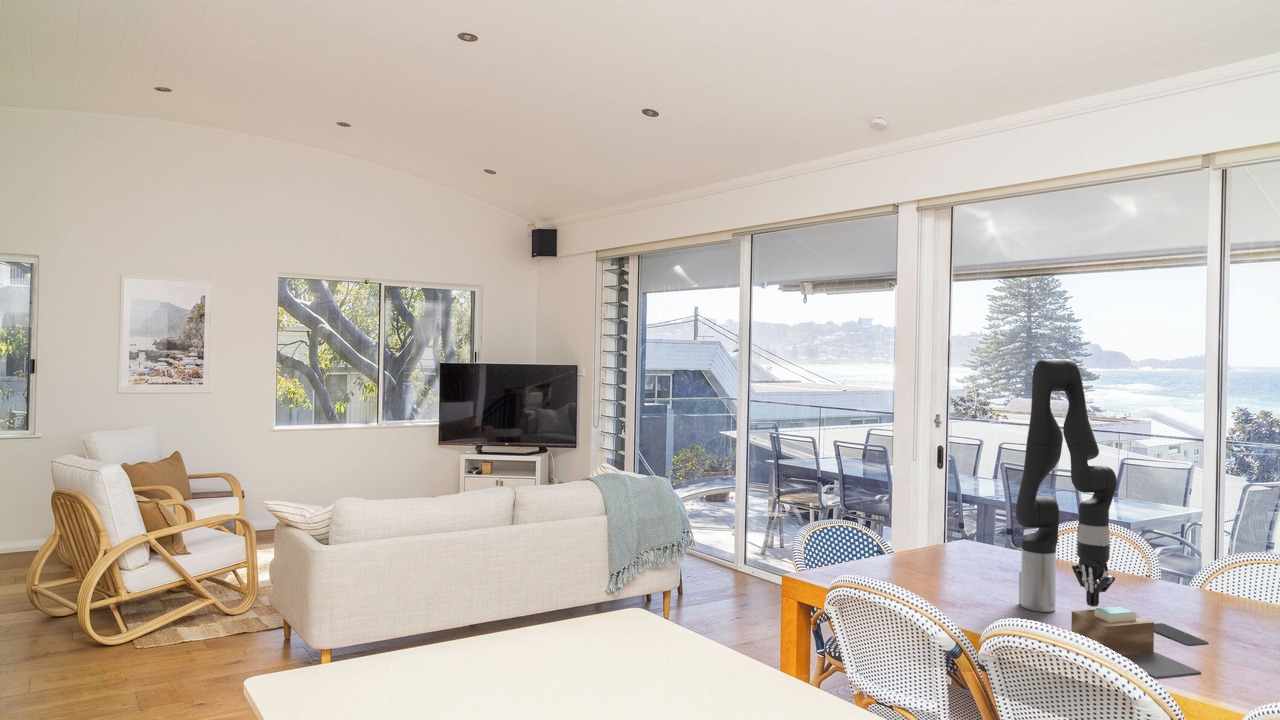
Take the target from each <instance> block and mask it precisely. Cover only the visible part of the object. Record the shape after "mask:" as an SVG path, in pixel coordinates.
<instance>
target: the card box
mask: <svg viewBox="0 0 1280 720" xmlns="http://www.w3.org/2000/svg"><path fill="white" fill-rule="evenodd" d="M1094 609H1095V613H1094V616H1096V617H1098V618H1101V619H1103V620H1105V621H1108V622H1119V621H1131V620H1136V616H1137V612H1135V611H1133V610H1130V609H1127V608H1125V607H1123V606H1121V605H1120V606H1110V607H1097V608H1096V607H1095V608H1094Z"/></svg>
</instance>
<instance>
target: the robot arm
mask: <svg viewBox="0 0 1280 720" xmlns="http://www.w3.org/2000/svg"><path fill="white" fill-rule="evenodd" d="M1031 378H1032V379H1031V382H1032V383H1031V406H1030V407H1031V410H1030V419H1029V425H1028V432H1027V437H1026V438H1027V439H1026V446H1025V457H1024V465H1023V470H1022V471H1023V472H1022V478H1021V483H1020V486H1019V491H1018V494H1017V500H1016V504H1015V505H1016V506H1015V517H1016V518H1015V519H1016V521H1017V523H1018V524H1019V526H1021V527H1023V528H1031V529H1032V528H1035V529H1037V528H1038V529H1037V530H1036V532H1034V533H1032V534H1030V535H1028V536H1026V537H1024V538H1022V540H1021V562H1020V563H1021V564H1020V565H1021V570H1020V572H1019V573H1018V604H1020V606H1021V607H1022V608H1024V609H1026V610H1030V611H1033V612H1038V613H1039V612H1040V613H1053V612H1055V611H1056V594H1057V593H1056V589H1057V588H1056V587H1057V585H1056V579H1057V577H1056V576H1057V575H1056V574H1057V573H1056V572H1057V545H1058V539H1059V527H1060V507H1059V504H1058V502H1057V500H1056V499H1055V498H1054V497H1052V496H1049V495H1048V496H1047V495H1038V491H1039V488H1040V486H1041V484H1042V482H1044V480H1045V479H1046V477H1047V476H1048V475H1049V474H1050V473H1051V472H1052V471H1053V470H1054V468H1055V467H1057V464H1058V463H1059V462H1060V458H1061V456H1062V455H1061V454H1062V449H1063V441H1064V440H1065V443H1066V446H1067V448H1068V452H1069V455H1070V457H1069V458H1070V478H1071V484H1073V486H1074V488H1075V489H1076V490H1077V491H1078V492H1080V493H1083V494H1085V493H1086V494H1090V493H1093V494H1092V497H1090V498H1089V499H1086V500H1083V501H1081V502H1080V503H1079V505H1078V526H1077V531H1076V532H1077V533H1076V534H1077V535H1076V536H1077V537H1076V538H1077V539H1076V540H1077V542H1076V545H1077V546H1076V556H1077V557H1078V558H1079V559H1078V563H1077V564H1074V565H1072V566H1071V569H1072V571H1073V574H1074V575H1075V578H1076V579H1077V582H1078V583H1079V585H1080V587H1082V588H1084V590H1085V592H1086V593H1085V594H1086V595H1085V598H1086V599H1085V600H1086V601H1085V602H1086V604H1087V606H1090V607H1092V608H1093V607H1095V608H1096V607H1098V606H1099V604H1100V593H1106V592H1107V590H1108V589H1109V588H1110V587H1111V585H1113V583H1114V582H1115V580H1116V578H1115V576H1114V575H1111V574H1110V573H1109V572H1108V570H1109V568H1108V564H1107V563H1108V562H1109V560H1110V554H1111V553H1110V552H1111V551H1110V546H1111V544H1110V543H1111V542H1110V541H1111V540H1110V539H1111V538H1110V537H1111V534H1110V526H1109V525H1110V522H1109V521H1110V508H1111V505H1112V502H1113V498H1114V496H1115V494H1116V493H1115V491H1116V490H1117V489H1116V488H1117V485H1118V479H1117V476H1116V472H1115V471H1114V470H1113V469H1112V468H1111V467H1109V466H1107V465H1089V463H1088V461H1090V460H1093V459H1095V458H1097V457H1098V456H1099V454H1100V448H1099V446H1098V443H1097V441H1096V438H1095V435H1094V432H1093V429H1092V426H1091V423H1090V420H1089V416H1088V409H1087V403H1086V397H1085V391H1084V385H1083V379H1082V375H1081V372H1080V369H1079V366H1078V365H1077V363H1076V362H1074V360H1072V359H1066V358H1064V359H1063V358H1058V359H1057V358H1055V359H1054V358H1052V359H1040V360H1038V361H1037V362H1036V363H1035V365H1034V368H1033V371H1032V377H1031ZM1053 392H1064V393H1065V395H1066V398H1067V401H1068V409H1067V413H1066V415H1065V418H1064V423H1063V428H1062V429H1063V432H1062V429H1061V427H1060V426H1059V423H1058V422H1057V420H1056V418H1055V415H1054V414H1053V412H1052V408H1051V398H1052V397H1051V396H1052V393H1053Z"/></svg>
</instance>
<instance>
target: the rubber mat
mask: <svg viewBox="0 0 1280 720" xmlns="http://www.w3.org/2000/svg"><path fill="white" fill-rule="evenodd" d="M1122 656H1124V657H1126V658H1128V659H1130V660H1131V661H1132V662H1134V663H1135V664H1137V665H1138V666H1139V667H1140V668H1142V669H1143V670H1145V671H1146V672H1147V673H1148V674H1150V675H1151V676H1150V677H1152V678H1154V679H1156V680H1157V679H1164V678H1172V677H1174V678H1175V677H1182V676H1192V675H1200V674H1202V671H1199V670H1198V669H1195V668H1193V667H1191V666H1189V665H1186V664H1184V663H1181V662H1179V661H1177V660H1174V659H1172V658H1170V657H1168V656H1165V655H1163V654H1160V653H1159V652H1156V651H1154V652H1151V653H1140V654H1130V655H1122Z"/></svg>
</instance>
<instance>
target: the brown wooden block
mask: <svg viewBox="0 0 1280 720" xmlns="http://www.w3.org/2000/svg"><path fill="white" fill-rule="evenodd" d="M1095 609H1096V608H1094V609H1084V610H1082V609H1081V610H1073V611H1071V629H1070V630H1071V631H1072V632H1075V633H1078V634H1080V635H1083V636H1085V637H1088V638H1090V639H1092V640H1095V641H1097V642H1099V643H1100V644H1102V645H1104V646H1106V647H1108V648H1110V649H1112V650H1113V651H1115V652H1117V653H1119V654H1121V655H1130V654H1140V653H1151V652H1155V645H1154V643H1155V633H1154V624H1155V622H1154V621H1152V620H1149V619H1146V618H1144V617H1142V616H1138V615H1136V620H1131V621H1119V622H1108V621H1105V620H1103V619H1101V618H1098V617H1096V616H1094V613H1095Z"/></svg>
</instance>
